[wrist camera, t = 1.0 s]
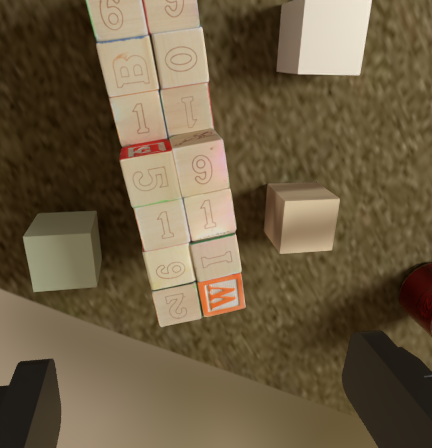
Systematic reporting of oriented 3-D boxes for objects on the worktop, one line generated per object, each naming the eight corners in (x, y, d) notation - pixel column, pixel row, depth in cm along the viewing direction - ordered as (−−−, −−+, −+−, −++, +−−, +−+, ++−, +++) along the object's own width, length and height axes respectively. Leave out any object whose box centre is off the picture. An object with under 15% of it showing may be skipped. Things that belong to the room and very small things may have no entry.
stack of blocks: (96, -1, 28) (69, -37, 17) (180, -12, 29) (204, -52, 18) (153, 249, 37) (159, 331, 26) (215, 237, 38) (247, 311, 27)
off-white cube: (281, 4, 31) (305, -4, 26) (339, 7, 32) (371, -1, 27) (276, 71, 33) (297, 74, 28) (330, 72, 34) (359, 75, 29)
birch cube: (267, 183, 37) (285, 201, 32) (315, 181, 38) (340, 198, 33) (263, 230, 39) (279, 253, 34) (309, 228, 40) (331, 250, 35)
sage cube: (38, 212, 34) (22, 236, 29) (96, 210, 35) (90, 233, 30) (46, 262, 36) (33, 291, 31) (101, 258, 37) (96, 287, 32)
